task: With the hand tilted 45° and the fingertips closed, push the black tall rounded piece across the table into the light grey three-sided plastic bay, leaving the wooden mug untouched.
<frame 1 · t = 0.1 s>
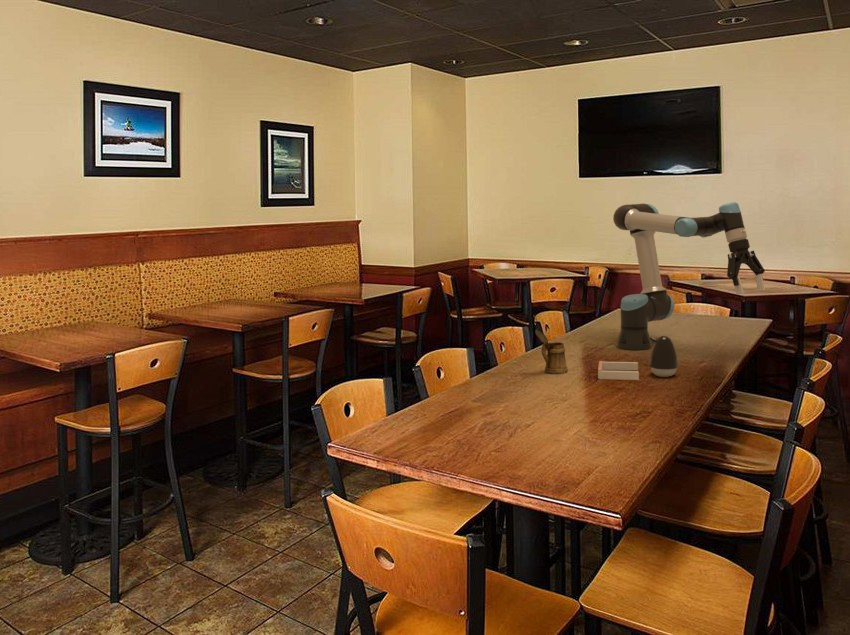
hand: (751, 292, 285), 28 cm above the table, tool tilted 20°, fingers open, 13 cm apart
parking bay: (619, 374, 276), on the table
wooden mug: (551, 372, 284), on the table
black tall rounded piece: (663, 375, 272), on the table
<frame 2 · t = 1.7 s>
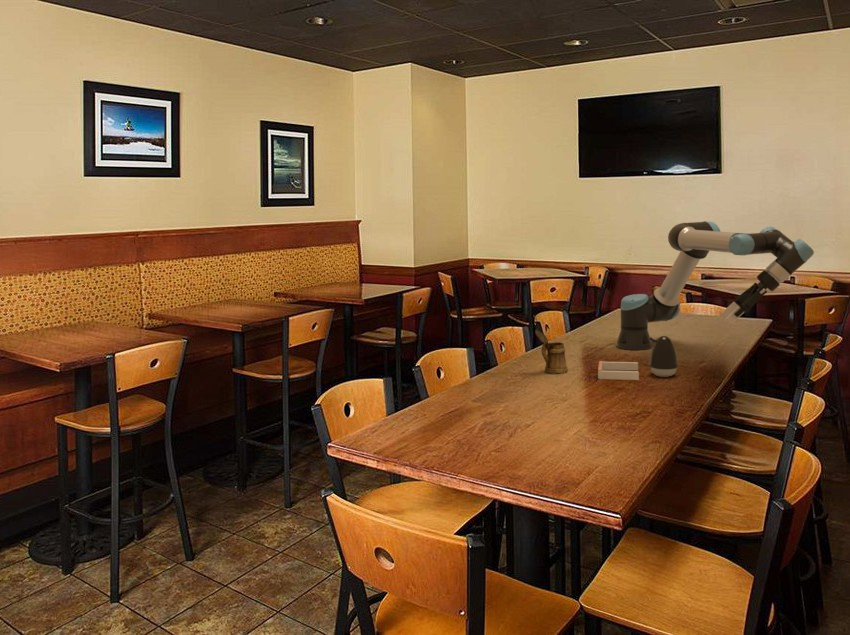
hand: (725, 319, 263), 22 cm above the table, tool tilted 45°, fingers open, 12 cm apart
nothing on the table moved.
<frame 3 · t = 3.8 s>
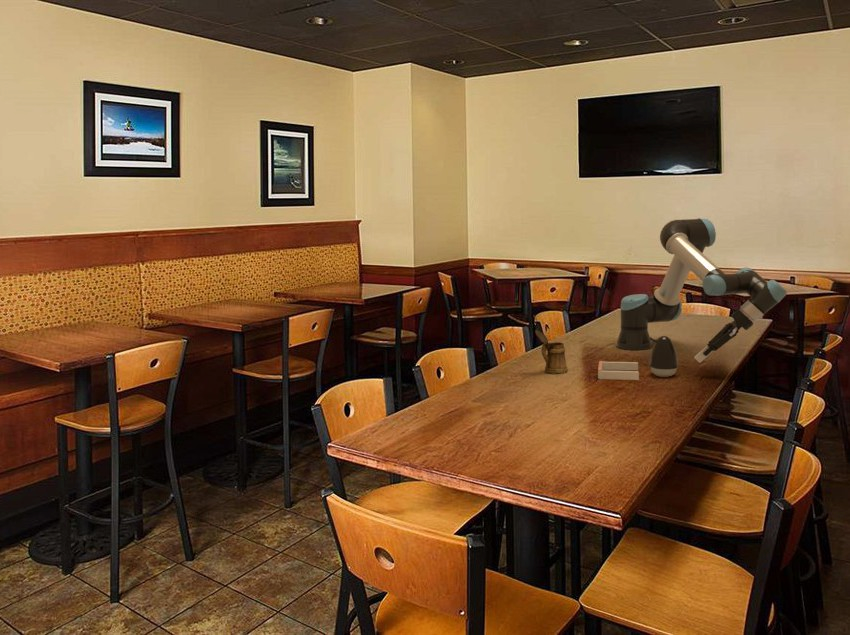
hand: (696, 360, 267), 6 cm above the table, tool tilted 45°, fingers closed
nothing on the table moved.
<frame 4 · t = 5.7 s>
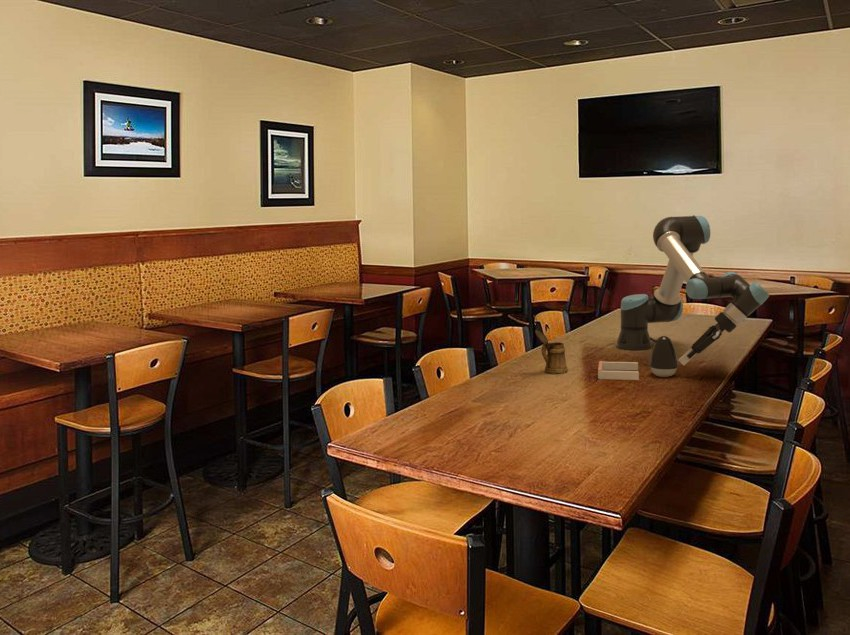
hand: (681, 362, 268), 5 cm above the table, tool tilted 45°, fingers closed
black tall rounded piece: (663, 375, 272), on the table, touching gripper
everything else where it was.
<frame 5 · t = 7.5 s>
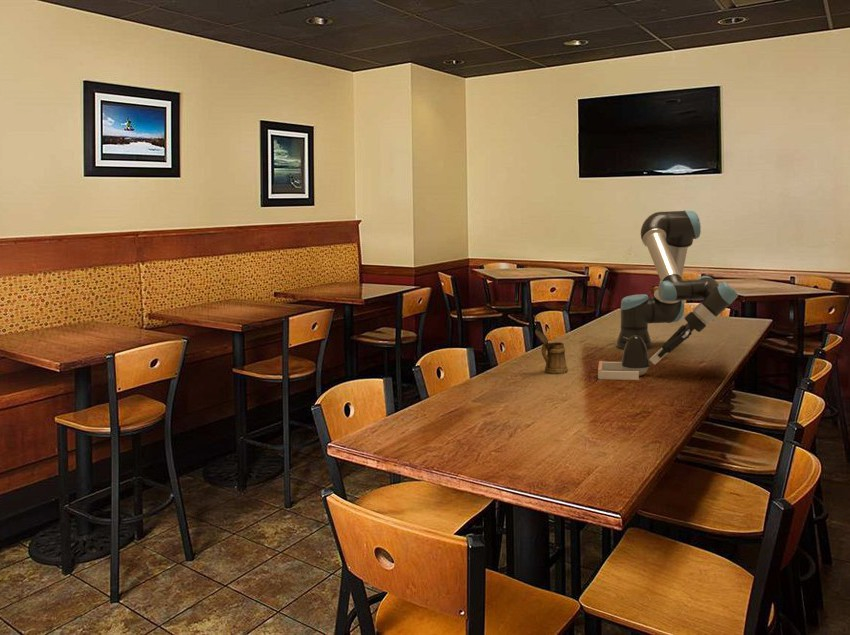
hand: (652, 361, 271), 5 cm above the table, tool tilted 45°, fingers closed
black tall rounded piece: (635, 374, 275), on the table, touching gripper
everything else where it was.
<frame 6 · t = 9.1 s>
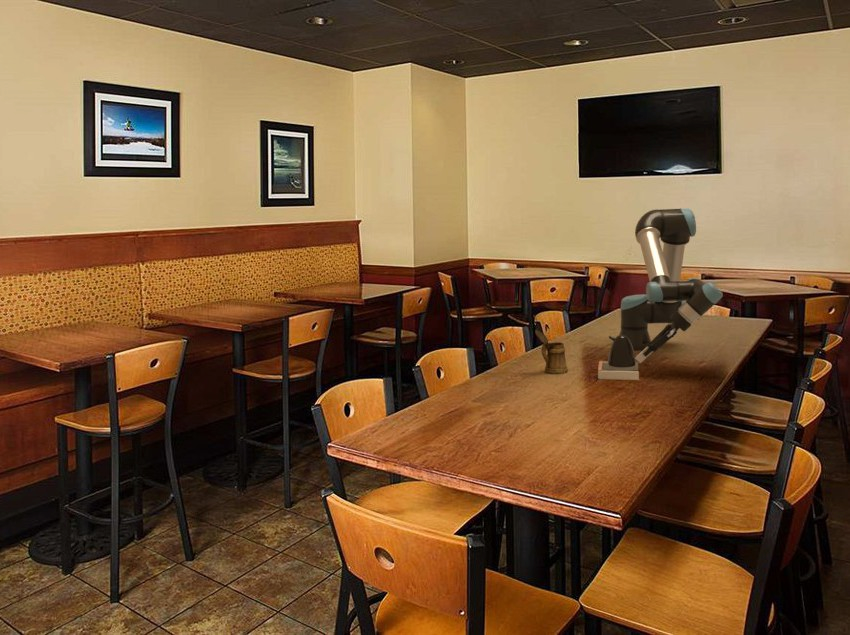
hand: (637, 360, 273), 6 cm above the table, tool tilted 45°, fingers closed
black tall rounded piece: (621, 373, 277), on the table, touching gripper
everything else where it was.
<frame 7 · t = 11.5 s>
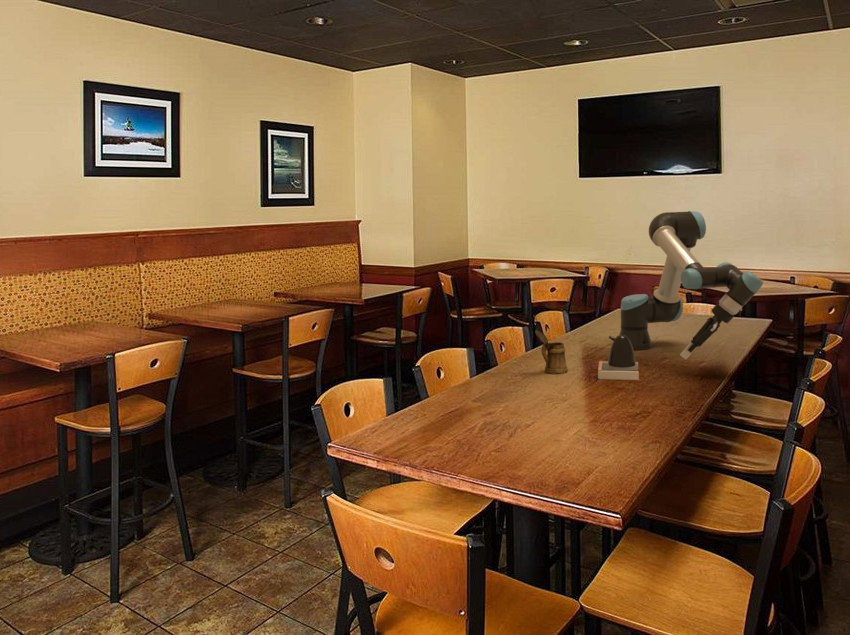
hand: (682, 357, 271), 7 cm above the table, tool tilted 40°, fingers closed
black tall rounded piece: (621, 373, 277), on the table
everything else where it was.
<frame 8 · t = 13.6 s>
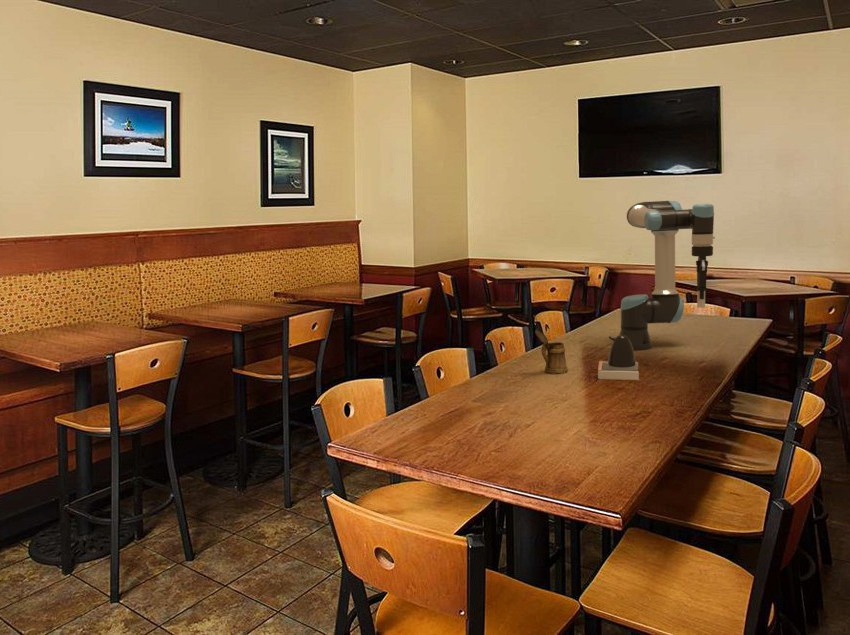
hand: (701, 307, 275), 24 cm above the table, tool pointing down, fingers closed
nothing on the table moved.
at the end: black tall rounded piece 1.8 cm off-centre on the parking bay, point 0.0 cm above the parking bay's base; black tall rounded piece tilted 0°; wooden mug moved 0.2 cm from its start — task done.
